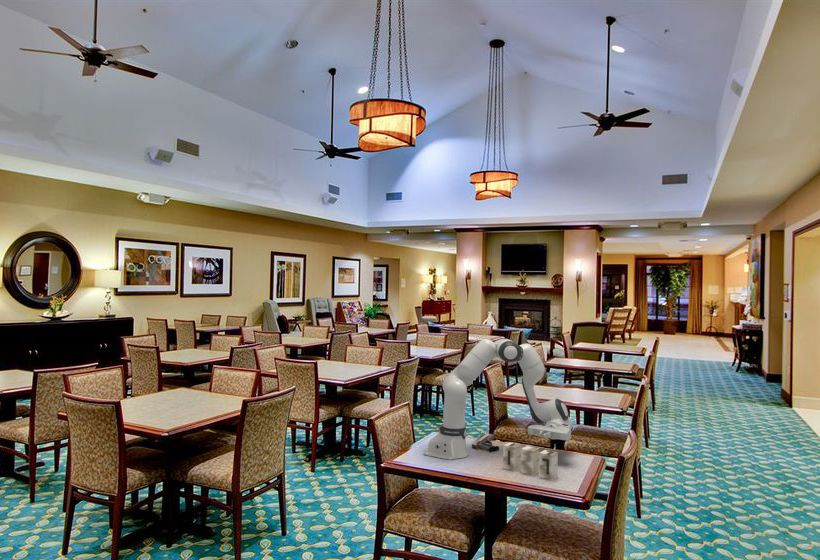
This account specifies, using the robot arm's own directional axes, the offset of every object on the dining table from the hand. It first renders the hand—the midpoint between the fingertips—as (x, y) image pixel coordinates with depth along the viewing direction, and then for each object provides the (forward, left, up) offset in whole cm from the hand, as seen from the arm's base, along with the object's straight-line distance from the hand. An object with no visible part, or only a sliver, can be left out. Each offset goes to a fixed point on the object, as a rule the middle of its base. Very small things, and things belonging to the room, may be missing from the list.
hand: (542, 435), depth 245 cm
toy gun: (-30, +27, -15) cm, 43 cm away
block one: (-13, -9, -14) cm, 21 cm away
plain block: (-4, -12, -14) cm, 19 cm away
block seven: (+4, -15, -14) cm, 21 cm away
